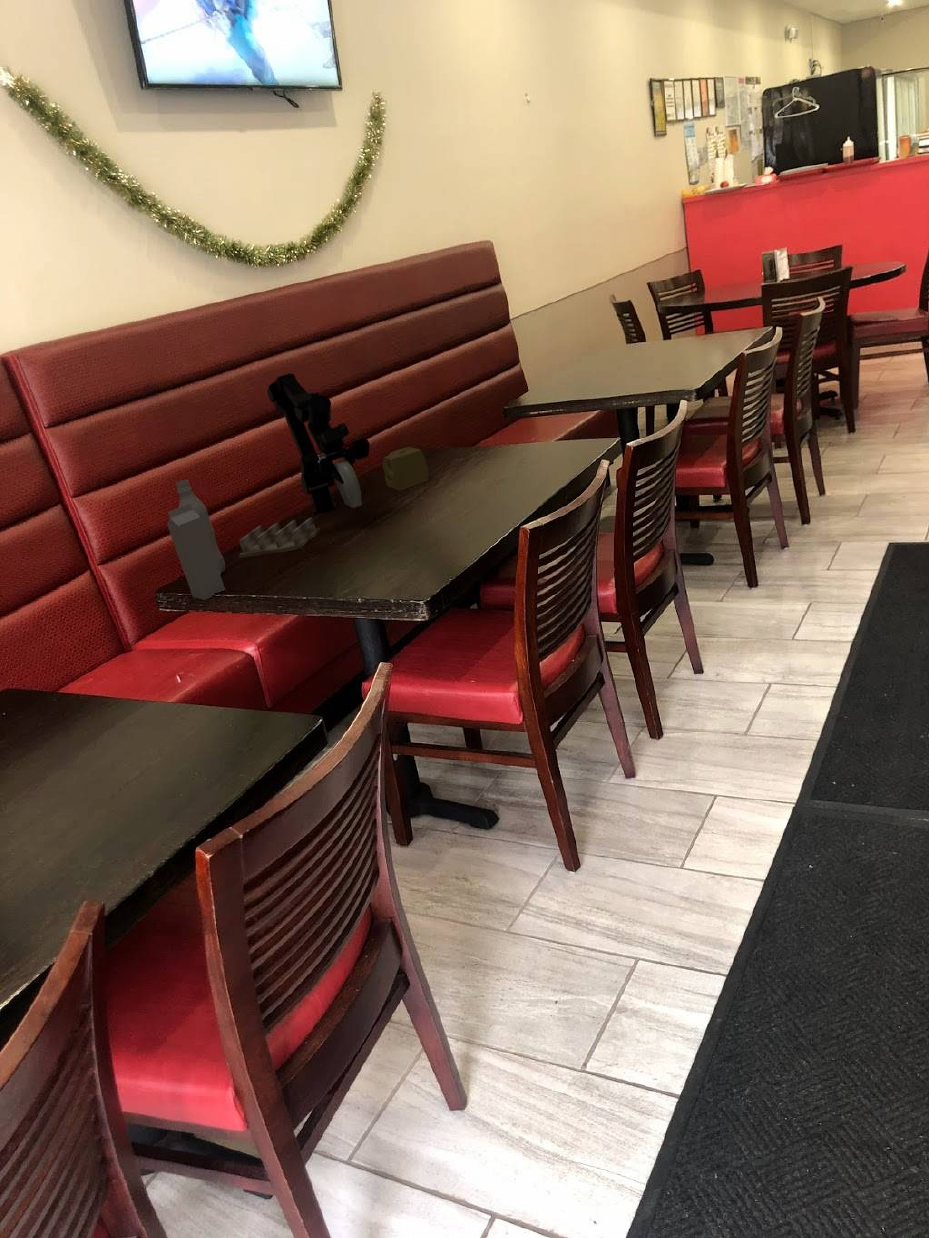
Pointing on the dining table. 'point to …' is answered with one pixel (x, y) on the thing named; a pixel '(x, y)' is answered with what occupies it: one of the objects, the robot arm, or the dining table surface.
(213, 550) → the water bottle
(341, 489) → the plate
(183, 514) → the milk
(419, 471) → the cheese
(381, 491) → the dining table surface
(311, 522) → the dish rack
